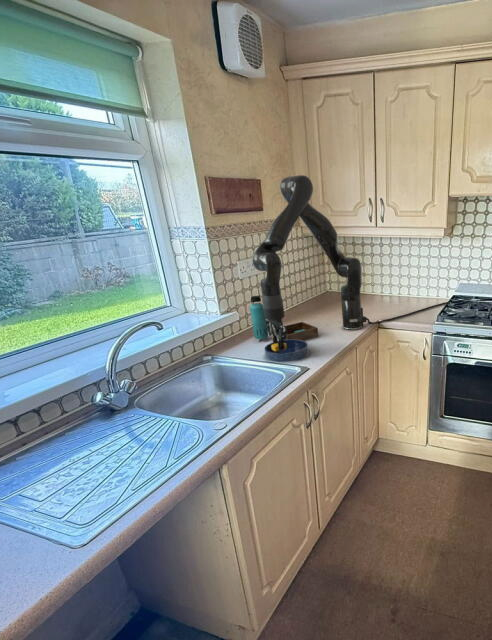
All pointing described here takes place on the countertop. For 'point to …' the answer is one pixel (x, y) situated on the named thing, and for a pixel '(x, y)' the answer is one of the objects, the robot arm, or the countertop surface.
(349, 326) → the robot arm
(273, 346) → the block
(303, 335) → the box
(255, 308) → the beverage bottle
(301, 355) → the bowl
